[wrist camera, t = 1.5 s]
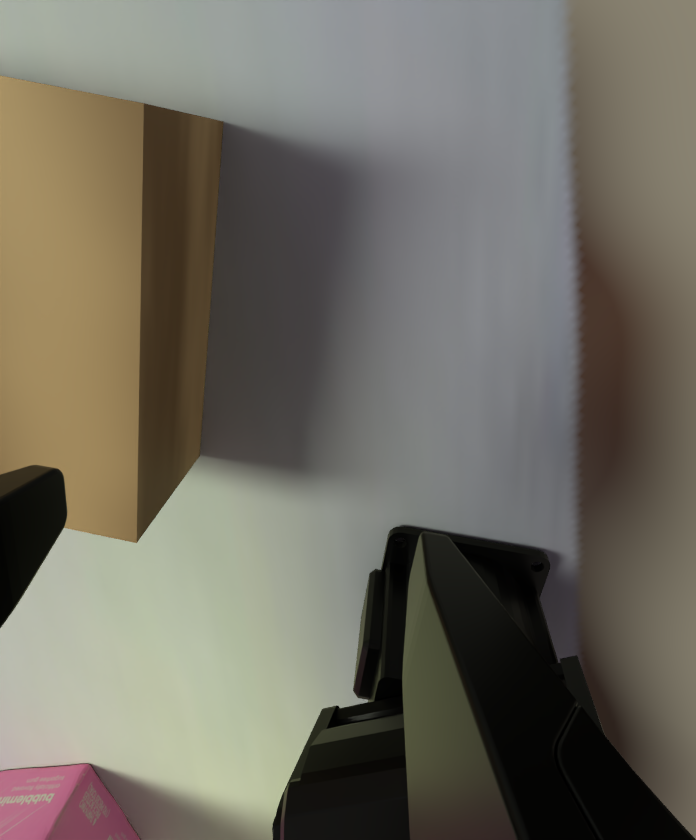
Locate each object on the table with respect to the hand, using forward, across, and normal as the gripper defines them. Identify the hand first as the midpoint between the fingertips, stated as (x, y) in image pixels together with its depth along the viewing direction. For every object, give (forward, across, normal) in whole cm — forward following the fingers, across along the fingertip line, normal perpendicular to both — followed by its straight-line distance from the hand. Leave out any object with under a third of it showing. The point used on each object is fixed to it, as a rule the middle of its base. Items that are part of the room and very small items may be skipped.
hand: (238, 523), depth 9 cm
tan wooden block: (+12, +10, 0) cm, 16 cm away
